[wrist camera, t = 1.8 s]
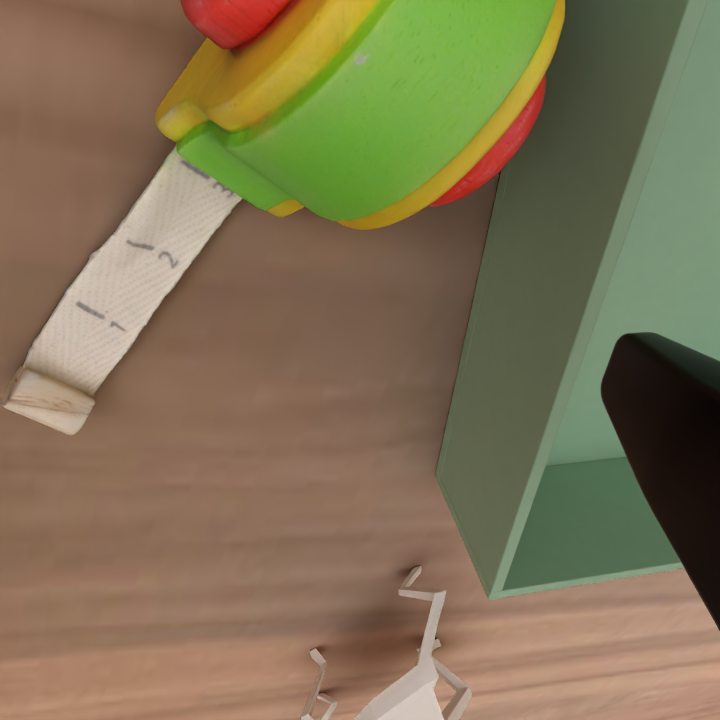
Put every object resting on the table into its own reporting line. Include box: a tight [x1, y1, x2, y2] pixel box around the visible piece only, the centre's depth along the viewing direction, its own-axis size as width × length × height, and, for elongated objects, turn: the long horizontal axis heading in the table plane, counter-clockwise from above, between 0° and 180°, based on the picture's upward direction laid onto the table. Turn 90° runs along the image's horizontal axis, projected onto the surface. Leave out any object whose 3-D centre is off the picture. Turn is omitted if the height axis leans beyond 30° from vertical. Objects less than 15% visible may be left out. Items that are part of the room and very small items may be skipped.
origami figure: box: [301, 566, 472, 720], centre depth 30 cm, size 12×8×5 cm
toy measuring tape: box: [1, 0, 565, 435], centre depth 14 cm, size 6×20×7 cm, turn 137°
